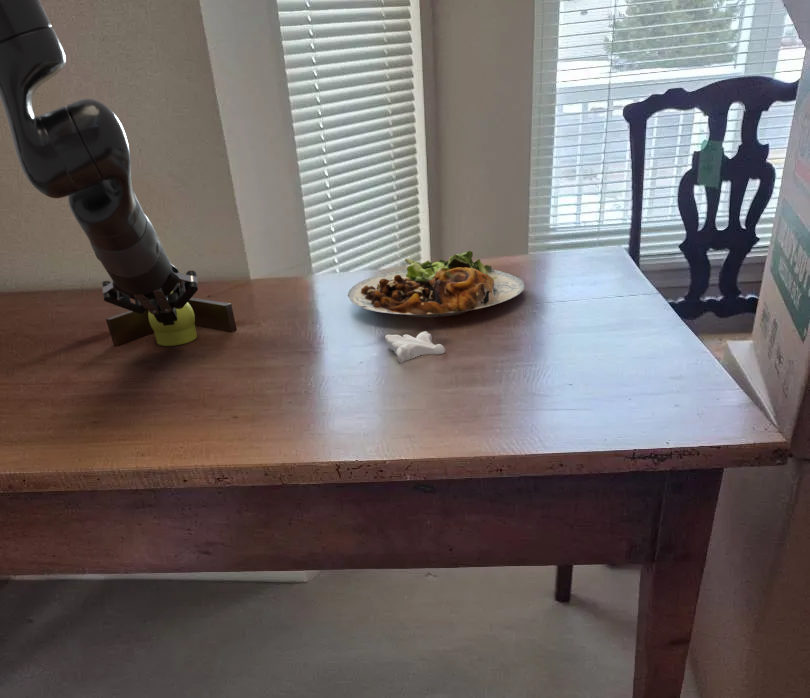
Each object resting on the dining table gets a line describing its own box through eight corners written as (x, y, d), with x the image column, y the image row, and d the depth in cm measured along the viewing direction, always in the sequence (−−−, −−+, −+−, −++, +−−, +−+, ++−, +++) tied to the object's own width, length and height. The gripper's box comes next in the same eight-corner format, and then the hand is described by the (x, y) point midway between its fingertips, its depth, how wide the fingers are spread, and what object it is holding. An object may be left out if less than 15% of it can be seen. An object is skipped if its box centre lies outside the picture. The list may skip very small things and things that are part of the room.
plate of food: (453, 269, 132) (452, 234, 129) (562, 298, 113) (564, 257, 109) (318, 304, 120) (313, 266, 117) (414, 343, 101) (411, 299, 97)
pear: (176, 348, 107) (160, 286, 102) (145, 344, 110) (128, 282, 105) (208, 334, 111) (194, 273, 106) (177, 330, 114) (162, 271, 109)
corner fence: (168, 357, 104) (161, 329, 101) (113, 344, 111) (105, 318, 108) (237, 329, 112) (231, 303, 110) (181, 319, 119) (175, 294, 117)
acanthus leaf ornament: (399, 364, 95) (397, 350, 94) (379, 349, 100) (377, 336, 99) (450, 351, 97) (449, 337, 96) (428, 338, 102) (427, 324, 101)
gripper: (180, 214, 90) (212, 290, 107) (71, 227, 89) (120, 301, 106) (186, 268, 88) (217, 337, 105) (75, 282, 87) (124, 349, 104)
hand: (168, 319), depth 105 cm, fingers closed
